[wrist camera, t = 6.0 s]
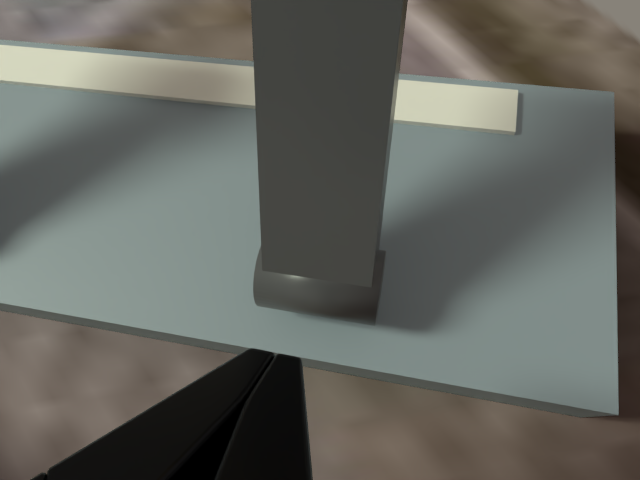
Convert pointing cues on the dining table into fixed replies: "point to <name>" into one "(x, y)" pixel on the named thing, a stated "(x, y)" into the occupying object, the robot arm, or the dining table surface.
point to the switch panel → (245, 235)
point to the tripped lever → (324, 151)
